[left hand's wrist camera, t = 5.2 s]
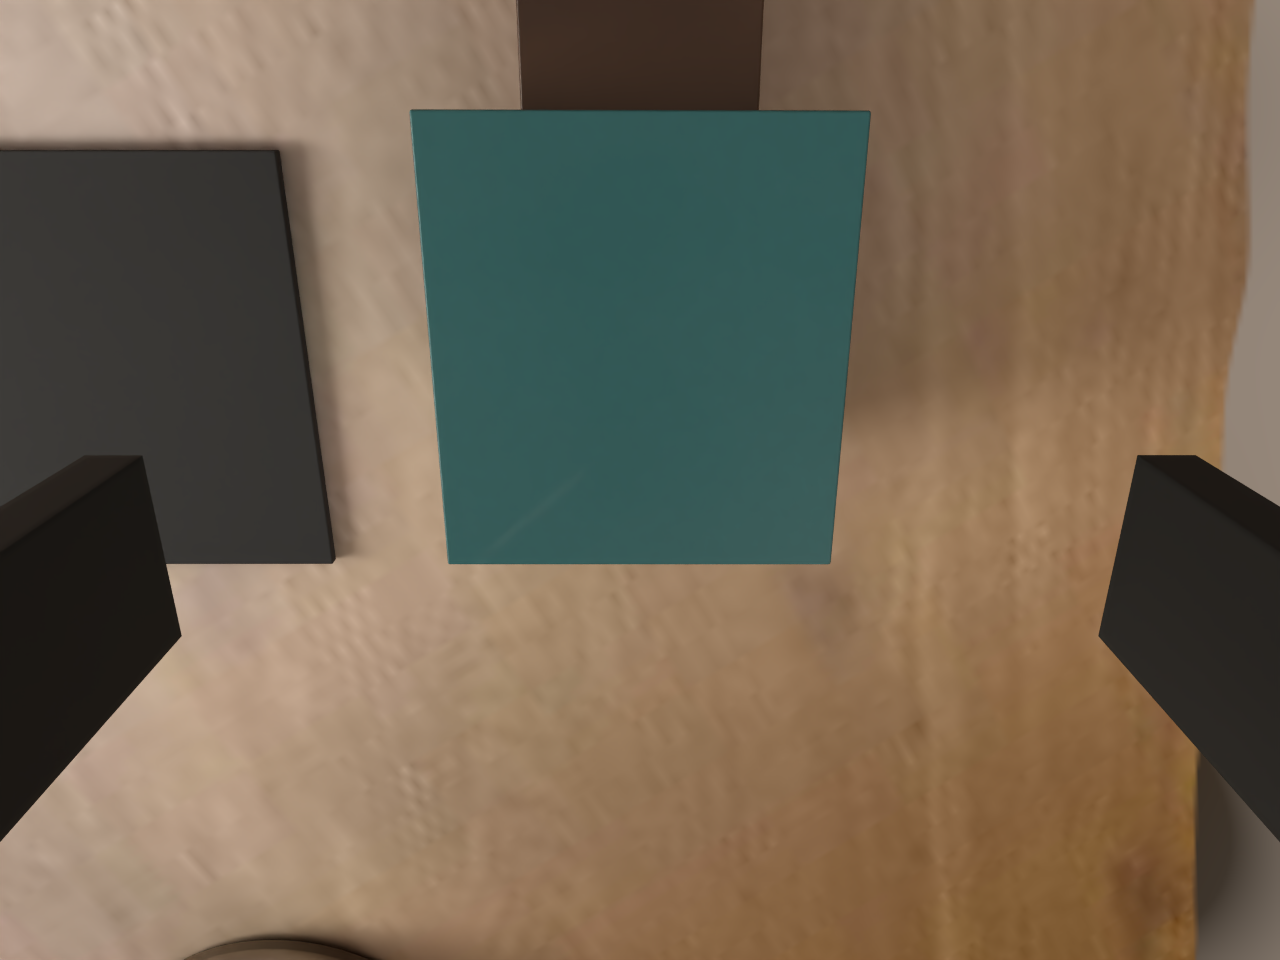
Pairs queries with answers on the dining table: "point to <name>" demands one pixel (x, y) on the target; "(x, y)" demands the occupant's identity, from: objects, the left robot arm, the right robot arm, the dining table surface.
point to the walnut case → (639, 54)
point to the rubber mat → (163, 343)
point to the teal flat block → (639, 329)
